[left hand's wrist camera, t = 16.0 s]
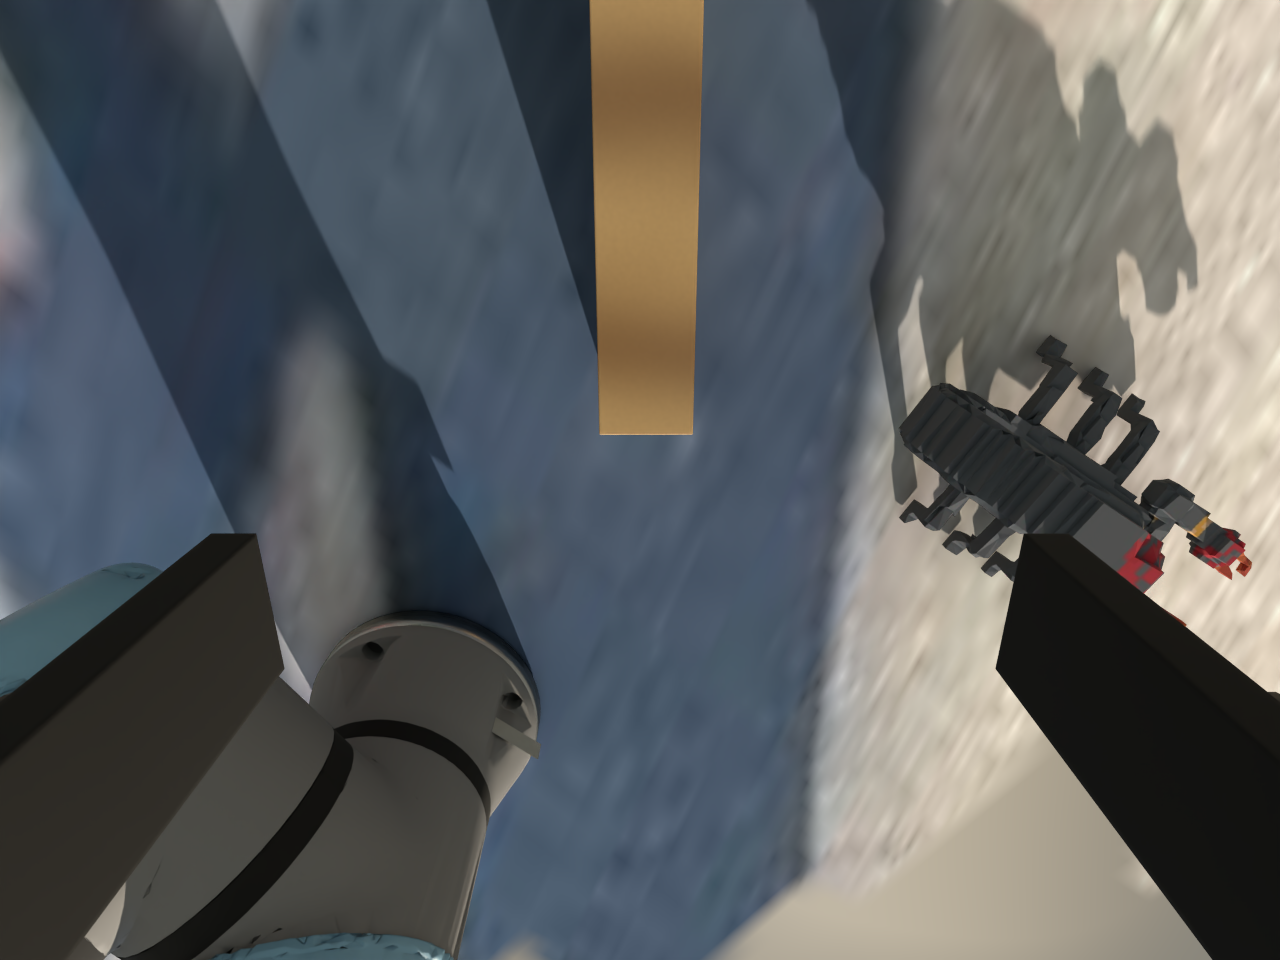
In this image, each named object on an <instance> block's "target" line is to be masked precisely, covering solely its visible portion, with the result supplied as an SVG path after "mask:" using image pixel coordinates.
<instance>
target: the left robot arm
mask: <svg viewBox="0 0 1280 960" xmlns="http://www.w3.org/2000/svg"><path fill="white" fill-rule="evenodd" d="M283 670H284V664H283V660H282V655H281V650H280V645H279V640H278V636H277V631H276V626H275V621H274V617H273V612H272V607H271V602H270V598H269V593H268V588H267V583H266V578H265V574H264V569H263V564H262V559H261V555H260V550H259V545H258V540H257V535H256V534H210V535H209V536H208V537H206V538H205V539H204V540H203V541H201V542H200V543H199V544H198V545H196V546H195V547H194V548H193V549H191V550H190V551H189V552H188V553H186V554H185V555H184V556H183V557H181V558H180V559H179V560H178V561H176V562H175V563H174V564H173V565H171V566H170V567H169V568H167V569H166V570H165V571H164V572H163V571H161V570H159V569H157V568H155V567H153V566H150V565H146V564H141V563H121V564H116V565H112V566H108V567H105V568H102V569H100V570H97V571H95V572H93V573H91V574H88V575H86V576H84V577H82V578H80V579H78V580H76V581H74V582H72V583H70V584H68V585H66V586H64V587H62V588H60V589H58V590H56V591H54V592H52V593H50V594H48V595H46V596H44V597H42V598H41V599H39V600H37V601H35V602H33V603H31V604H29V605H27V606H25V607H24V608H22V609H20V610H18V611H16V612H14V613H12V614H11V615H9V616H7V617H5V618H3V619H2V620H0V960H104V958H105V957H106V956H107V955H108V954H110V953H112V954H113V955H115V956H116V957H118V958H120V959H121V960H457V958H458V954H459V949H460V945H461V941H462V936H463V932H464V927H465V923H466V919H467V914H468V910H469V905H470V901H471V896H472V892H473V888H474V883H475V879H476V874H477V870H478V866H479V861H480V857H481V852H482V848H483V843H484V839H485V834H486V830H487V826H488V822H489V818H490V816H491V814H492V813H493V812H494V810H495V809H496V807H497V806H498V805H499V803H500V802H501V800H502V799H503V798H504V796H505V795H506V793H507V792H508V791H509V789H510V788H511V786H512V785H513V784H514V782H515V781H516V779H517V778H518V777H519V775H520V774H521V772H522V771H523V769H524V768H525V766H526V764H527V762H528V761H529V759H530V757H531V756H533V757H535V758H536V759H538V757H539V751H540V746H541V744H539V743H538V742H536V738H537V733H538V728H539V722H540V710H541V708H540V698H539V694H538V690H537V687H536V683H535V681H534V679H533V677H532V674H531V672H530V671H529V669H528V667H527V666H526V664H525V663H524V661H523V660H522V659H521V657H520V656H519V655H518V654H517V653H516V652H515V651H514V650H513V649H512V648H511V647H510V646H509V645H508V644H507V643H506V642H505V641H504V640H502V639H501V638H500V637H498V636H497V635H495V634H494V633H492V632H491V631H489V630H488V629H486V628H484V627H482V626H480V625H478V624H476V623H474V622H471V621H469V620H466V619H463V618H460V617H457V616H453V615H449V614H445V613H438V612H430V611H407V612H398V613H393V614H388V615H385V616H381V617H378V618H376V619H373V620H371V621H368V622H366V623H364V624H362V625H361V626H359V627H357V628H356V629H354V630H353V631H351V632H350V633H349V634H348V635H347V636H345V637H344V638H343V639H342V640H341V641H340V642H339V643H338V644H337V646H336V647H335V648H334V650H333V651H332V652H331V654H330V655H329V657H328V658H327V660H326V661H325V663H324V664H323V666H322V667H321V669H320V671H319V673H318V674H317V677H316V679H315V682H314V685H313V689H312V693H311V697H310V702H309V704H308V703H307V702H306V701H305V700H304V699H303V698H302V697H300V696H299V695H298V694H297V693H296V692H295V691H294V690H293V689H292V688H291V687H290V686H289V685H288V684H287V683H286V682H284V681H283V680H282V679H281V678H280V677H279V675H280V674H281V673H282V671H283ZM996 670H997V671H998V673H999V674H1000V675H1001V677H1002V678H1003V679H1004V681H1005V682H1006V683H1007V685H1008V686H1009V687H1010V689H1011V690H1012V691H1013V693H1014V694H1015V695H1016V697H1017V698H1018V699H1019V701H1020V702H1021V704H1022V705H1023V706H1024V708H1025V709H1026V710H1027V712H1028V713H1029V714H1030V716H1031V717H1032V718H1033V720H1034V721H1035V722H1036V724H1037V725H1038V726H1039V728H1040V729H1041V730H1042V732H1043V733H1044V734H1045V736H1046V737H1047V738H1048V740H1049V741H1050V742H1051V744H1052V745H1053V746H1054V748H1055V749H1056V750H1057V752H1058V753H1059V754H1060V756H1061V757H1062V758H1063V760H1064V761H1065V763H1066V764H1067V765H1068V767H1069V768H1070V769H1071V771H1072V772H1073V773H1074V775H1075V776H1076V777H1077V779H1078V780H1079V781H1080V783H1081V784H1082V785H1083V787H1084V788H1085V789H1086V791H1087V792H1088V793H1089V795H1090V796H1091V797H1092V799H1093V800H1094V801H1095V803H1096V804H1097V805H1098V807H1099V808H1100V809H1101V811H1102V812H1103V814H1104V815H1105V816H1106V818H1107V819H1108V820H1109V822H1110V823H1111V824H1112V826H1113V827H1114V828H1115V830H1116V831H1117V832H1118V834H1119V835H1120V836H1121V838H1122V839H1123V840H1124V842H1125V843H1126V844H1127V846H1128V847H1129V848H1130V850H1131V851H1132V852H1133V854H1134V855H1135V856H1136V858H1137V859H1138V860H1139V862H1140V863H1141V865H1142V866H1143V867H1144V869H1145V870H1146V871H1147V873H1148V874H1149V875H1150V877H1151V878H1152V879H1153V881H1154V882H1155V883H1156V885H1157V886H1158V887H1159V889H1160V890H1161V891H1162V893H1163V894H1164V895H1165V897H1166V898H1167V899H1168V901H1169V902H1170V903H1171V905H1172V906H1173V907H1174V909H1175V910H1176V911H1177V913H1178V914H1179V915H1180V917H1181V918H1182V920H1183V921H1184V922H1185V923H1186V925H1187V926H1188V928H1189V929H1190V930H1191V932H1192V933H1193V934H1194V936H1195V937H1196V938H1197V940H1198V941H1199V942H1200V944H1201V945H1202V946H1203V948H1204V949H1205V950H1206V952H1207V953H1208V954H1209V956H1210V957H1211V958H1212V960H1280V694H1279V693H1277V692H1267V691H1265V690H1264V689H1263V688H1262V687H1260V686H1259V685H1258V684H1257V683H1255V682H1254V681H1253V680H1252V679H1250V678H1249V677H1248V676H1247V675H1245V674H1244V673H1243V672H1242V671H1240V670H1239V669H1238V668H1237V667H1235V666H1234V665H1233V664H1232V663H1230V662H1229V661H1228V660H1227V659H1225V658H1224V657H1223V656H1222V655H1220V654H1219V653H1218V652H1217V651H1215V650H1214V649H1213V648H1212V647H1210V646H1209V645H1208V644H1207V643H1205V642H1204V641H1203V640H1202V639H1200V638H1199V637H1198V636H1197V635H1195V634H1194V633H1193V632H1192V631H1190V630H1189V629H1188V628H1186V627H1185V626H1184V625H1183V624H1181V623H1180V622H1179V621H1178V620H1176V619H1175V618H1174V617H1173V616H1171V615H1170V614H1169V613H1168V612H1166V611H1165V610H1164V609H1163V608H1161V607H1160V606H1159V605H1158V604H1156V603H1155V602H1154V601H1153V600H1151V599H1150V598H1149V597H1148V596H1146V595H1145V594H1144V593H1143V592H1141V591H1140V590H1139V589H1138V588H1136V587H1135V586H1134V585H1133V584H1131V583H1130V582H1129V581H1128V580H1126V579H1125V578H1124V577H1123V576H1121V575H1120V574H1119V573H1118V572H1116V571H1115V570H1114V569H1113V568H1111V567H1110V566H1109V565H1107V564H1106V563H1105V562H1104V561H1102V560H1101V559H1100V558H1099V557H1097V556H1096V555H1095V554H1094V553H1092V552H1091V551H1090V550H1089V549H1087V548H1086V547H1085V546H1084V545H1082V544H1081V543H1080V542H1079V541H1077V540H1076V539H1075V538H1074V537H1072V536H1071V535H1070V534H1024V535H1023V540H1022V545H1021V550H1020V555H1019V559H1018V564H1017V569H1016V574H1015V578H1014V583H1013V588H1012V593H1011V597H1010V602H1009V607H1008V612H1007V617H1006V621H1005V626H1004V631H1003V636H1002V640H1001V645H1000V650H999V655H998V659H997V664H996Z"/></svg>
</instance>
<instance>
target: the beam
mask: <svg viewBox="0 0 1280 960" xmlns="http://www.w3.org/2000/svg"><path fill="white" fill-rule="evenodd" d="M589 4H590V48H591V91H592V134H593V178H594V221H595V264H596V308H597V351H598V394H599V434H601V435H635V434H693V401H694V362H695V323H696V284H697V245H698V206H699V167H700V128H701V89H702V50H703V11H704V0H589Z"/></svg>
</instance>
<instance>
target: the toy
mask: <svg viewBox="0 0 1280 960" xmlns="http://www.w3.org/2000/svg"><path fill="white" fill-rule="evenodd" d="M1066 347H1067V345H1066V344H1064V343H1062V342H1061V341H1059V340H1057V339H1055V338H1054V337H1053V336H1051V335H1050V336H1049V337H1048V338H1047V340H1046V341H1045V342H1044V343H1043V344H1042V346H1041V347H1040V348H1039V349H1038V350H1037V352H1036V353H1038V354H1039V355H1041V356H1042V357H1043V359H1042V363H1045V364H1047V365H1050V366H1051V367H1052V369H1051V370H1050V371H1049V373H1048V374H1047V375H1046V377H1045V378H1044V379H1043V381H1042V382H1041V383H1040V386H1039V388H1038V389H1037V390H1036V392H1035V393H1034V394H1033V395H1032V396H1031V398H1030V399H1029V400H1028V401H1027V402H1026V404H1025V405H1024V406H1023V407H1022V408H1021V410H1020V411H1019V414H1018V415H1016V414H1015V413H1013V412H1011V411H1010V410H1006V409H1002V408H998V407H994V406H993V405H991V404H990V403H988V402H987V401H985V400H984V399H982V398H981V397H979V396H978V395H976V394H974V393H971V392H967V391H964V390H959V389H957V388H956V387H954V386H953V385H951V384H946V383H940V385H938V386H932V387H931V388H930V389H929V391H928V392H927V393H926V394H925V396H924V397H923V398H922V399H921V401H920V402H919V403H918V405H917V406H916V407H915V408H914V410H913V411H912V412H911V413H910V415H909V416H908V417H907V418H906V420H905V421H904V422H903V424H902V425H901V426H900V427H899V430H900V433H901V436H902V438H903V441H904V445H905V446H906V447H907V448H908V449H909V450H910V451H911V452H913V453H914V454H915V455H916V456H917V457H919V458H920V459H921V460H922V461H924V462H925V463H926V464H928V465H929V466H931V467H932V468H933V469H935V470H936V471H937V472H938V473H939V474H940V475H941V476H942V477H943V478H944V479H945V480H946V481H947V482H948V483H950V485H949V486H948V488H947V489H946V490H945V492H944V493H943V494H942V495H940V496H939V497H938V498H937V499H936V500H935V501H934V502H933V504H932V505H931V506H930V507H929V508H926V507H925V506H923V505H922V504H921V503H919V502H918V501H916V500H913V501H912V503H911V504H910V505H909V506H908V507H907V509H906V510H905V511H904V512H903V513H902V515H901V516H900V517H899V518H900V519H901V520H902V521H903V522H904V523H906V522H910V521H913V520H916V519H919V520H920V522H921V523H922V524H923V525H924V526H925V527H926V528H928V529H930V530H933V531H936V530H940V529H941V528H942V527H943V525H944V524H945V523H946V522H947V521H948V519H949V518H950V517H951V516H952V515H954V516H956V515H957V513H958V512H959V511H960V509H961V508H962V507H963V506H964V504H965V503H966V502H967V500H968V499H969V498H971V499H972V500H974V501H975V502H977V503H978V504H980V505H981V506H982V507H983V508H985V509H986V510H987V511H988V512H989V513H990V514H992V515H993V516H995V517H996V519H995V520H994V521H993V522H992V523H991V524H990V525H989V526H988V527H987V528H986V529H985V530H984V531H983V532H982V533H981V534H980V535H979V536H978V537H975V536H974V535H973V534H972V536H969V535H967V534H965V533H963V532H960V531H956V530H954V531H953V533H952V534H951V535H950V536H949V537H948V538H947V539H946V541H945V542H944V543H943V544H942V545H943V546H944V547H945V548H946V549H947V550H949V551H951V552H952V553H954V554H955V555H957V554H959V553H960V552H961V551H963V550H964V549H965V548H967V550H968V551H969V553H971V554H972V555H973V556H975V557H983V558H989V557H990V556H991V555H992V554H993V553H994V552H995V551H996V550H997V549H998V547H999V546H1000V545H1001V544H1002V543H1003V542H1004V541H1005V540H1006V539H1007V538H1008V537H1009V536H1010V535H1012V534H1014V533H1015V532H1018V533H1019V534H1023V533H1024V534H1070V535H1071V536H1072V537H1074V538H1075V539H1076V540H1077V541H1079V542H1080V543H1081V544H1082V545H1084V546H1085V547H1086V548H1087V549H1089V550H1090V551H1091V552H1092V553H1094V554H1095V555H1096V556H1097V557H1099V558H1100V559H1101V560H1102V561H1104V562H1105V563H1106V564H1107V565H1109V566H1110V567H1111V568H1113V569H1114V570H1115V571H1116V572H1118V573H1119V574H1120V575H1121V576H1123V577H1124V578H1125V579H1126V580H1128V581H1129V582H1130V583H1131V584H1133V585H1134V586H1135V587H1136V588H1138V589H1139V590H1140V591H1141V592H1143V593H1145V592H1146V591H1147V590H1148V589H1149V588H1150V587H1151V586H1152V585H1153V584H1154V583H1155V582H1156V581H1157V580H1158V579H1159V578H1160V577H1161V576H1162V575H1163V574H1164V572H1163V571H1162V570H1161V569H1162V566H1163V562H1164V559H1165V556H1164V555H1163V554H1162V553H1161V549H1162V546H1163V542H1161V541H1162V540H1163V539H1164V538H1165V536H1166V535H1167V534H1168V533H1169V531H1170V530H1171V528H1172V527H1173V525H1174V524H1177V525H1178V526H1180V527H1181V528H1183V529H1184V530H1186V531H1187V532H1188V533H1187V536H1186V538H1188V539H1189V540H1191V542H1190V543H1189V544H1190V546H1191V547H1190V550H1189V552H1190V553H1191V554H1193V555H1194V556H1196V557H1197V558H1199V559H1200V560H1202V561H1203V562H1205V563H1206V564H1208V565H1209V566H1211V567H1212V568H1215V569H1216V570H1217V571H1218V572H1219V573H1221V574H1223V575H1224V576H1226V577H1228V578H1229V579H1231V580H1232V572H1231V570H1230V568H1229V566H1230V565H1231V564H1232V563H1233V562H1234V561H1235V560H1236V559H1238V560H1239V561H1240V562H1241V563H1240V564H1239V566H1238V567H1237V569H1236V570H1237V571H1238V572H1239V573H1240V574H1242V575H1243V576H1244V577H1245V576H1246V575H1247V573H1248V572H1249V570H1250V569H1251V565H1252V562H1251V561H1250V560H1249V559H1248V558H1247V557H1246V556H1245V555H1244V553H1243V552H1244V551H1245V549H1244V547H1245V543H1244V542H1242V541H1241V540H1239V539H1238V538H1239V536H1240V535H1241V534H1239V533H1238V532H1237V531H1235V530H1231V529H1226V528H1221V527H1220V526H1219V525H1217V524H1216V523H1214V522H1213V521H1211V520H1210V519H1208V517H1209V515H1210V514H1211V513H1209V512H1208V511H1206V510H1205V509H1203V508H1201V507H1200V506H1198V505H1197V504H1195V503H1194V502H1193V500H1194V497H1195V495H1194V494H1192V493H1191V492H1190V491H1188V490H1187V489H1185V488H1184V487H1182V486H1181V485H1179V484H1178V483H1176V482H1174V481H1172V480H1170V479H1164V480H1153V481H1152V482H1151V483H1150V484H1149V485H1148V487H1147V488H1146V489H1145V490H1144V492H1143V493H1142V496H1141V503H1140V504H1139V505H1138V504H1137V503H1135V502H1134V500H1135V499H1136V498H1137V497H1136V496H1135V495H1134V494H1132V493H1131V492H1129V491H1128V490H1126V489H1125V488H1123V487H1122V486H1121V484H1122V483H1123V482H1124V481H1125V479H1126V478H1127V477H1128V476H1129V474H1130V473H1131V472H1132V471H1133V470H1134V468H1135V467H1136V466H1137V465H1138V463H1139V462H1140V461H1141V459H1142V458H1143V457H1144V455H1145V454H1146V453H1147V451H1148V450H1149V448H1150V447H1151V446H1152V444H1153V443H1154V442H1155V440H1156V438H1157V436H1158V434H1159V432H1160V431H1159V430H1158V429H1157V427H1156V425H1155V423H1154V421H1153V420H1152V419H1149V418H1147V417H1145V416H1143V415H1140V414H1138V413H1139V412H1140V411H1141V409H1142V408H1143V407H1144V404H1145V401H1144V400H1142V399H1139V398H1138V397H1136V396H1135V395H1134V394H1131V395H1130V396H1129V398H1128V399H1127V400H1126V401H1125V403H1124V404H1123V405H1122V406H1121V407H1120V409H1119V410H1118V408H1119V406H1120V403H1121V400H1122V398H1121V397H1120V396H1118V395H1117V394H1115V393H1114V392H1112V391H1109V390H1107V389H1105V388H1102V386H1103V384H1104V383H1105V381H1106V379H1107V377H1108V374H1106V373H1105V372H1103V371H1101V370H1100V369H1098V368H1096V367H1095V368H1094V369H1093V371H1092V372H1091V373H1090V374H1089V375H1088V376H1087V378H1086V379H1085V380H1084V381H1083V382H1082V383H1081V385H1080V386H1079V387H1078V389H1079V390H1081V391H1082V392H1084V393H1085V394H1087V395H1089V396H1092V397H1093V398H1092V399H1091V401H1092V402H1094V403H1093V404H1091V405H1090V407H1089V408H1088V409H1087V410H1086V412H1085V413H1084V414H1083V416H1082V417H1081V418H1080V420H1079V421H1078V422H1077V424H1076V425H1075V426H1074V428H1073V429H1072V430H1071V432H1070V434H1069V436H1068V439H1067V441H1064V440H1063V439H1061V438H1060V437H1059V436H1057V435H1056V434H1054V433H1053V432H1051V431H1050V430H1048V429H1047V428H1046V427H1044V426H1043V425H1041V424H1040V422H1041V421H1042V419H1043V418H1044V417H1045V416H1046V414H1047V413H1048V412H1049V411H1050V409H1051V408H1052V407H1053V405H1054V404H1055V403H1056V402H1057V400H1058V399H1059V398H1060V397H1061V395H1062V394H1063V393H1064V392H1065V390H1066V389H1067V388H1068V386H1069V385H1070V383H1071V382H1072V381H1073V379H1074V378H1075V377H1076V375H1077V374H1078V373H1077V372H1075V371H1074V370H1073V369H1071V368H1070V366H1071V365H1072V364H1073V363H1071V362H1069V361H1067V360H1065V359H1063V358H1061V355H1062V354H1063V352H1064V351H1065V349H1066ZM1117 411H1118V413H1117ZM1116 414H1117V416H1119V417H1120V418H1122V419H1124V420H1125V421H1127V422H1129V423H1130V424H1131V431H1130V432H1129V434H1128V435H1127V436H1126V437H1125V439H1124V440H1123V441H1122V443H1121V444H1120V445H1119V447H1118V448H1117V449H1116V450H1115V451H1114V452H1113V454H1112V455H1111V456H1110V457H1109V458H1108V460H1107V461H1106V463H1105V464H1103V465H1099V464H1098V463H1096V462H1095V461H1093V460H1092V459H1090V458H1089V457H1087V456H1086V455H1085V454H1086V453H1087V452H1088V451H1089V450H1090V449H1091V448H1092V447H1093V446H1094V445H1095V444H1096V443H1097V442H1098V441H1099V440H1100V439H1101V437H1102V434H1103V432H1104V429H1105V427H1106V426H1107V425H1108V424H1109V423H1110V421H1111V420H1112V419H1113V418H1114V417H1115V416H1116ZM1018 559H1019V558H1018ZM1018 559H1017V560H1016V561H1015V562H1012V561H1010V560H1009V559H1007V558H1006V557H1005V556H1003V555H1002V554H1000V553H999V552H997V551H996V552H995V553H994V554H993V555H992V556H991V557H990V558H989V560H988V561H987V562H986V563H985V564H984V565H983V566H982V567H981V569H982V570H983V571H984V572H985V573H986V574H988V575H989V576H991V577H992V576H993V575H995V574H996V573H997V572H998V571H1000V570H1002V571H1003V572H1004V573H1005V574H1006V575H1007V577H1008V578H1009V579H1010V580H1011V581H1013V582H1014V578H1015V574H1016V569H1017V564H1018ZM1161 608H1162V607H1161ZM1164 610H1165V609H1164ZM1165 611H1166V610H1165ZM1166 612H1168V611H1166ZM1168 613H1169V612H1168ZM1169 614H1170V615H1171V616H1173V617H1174V618H1175V619H1176V620H1178V621H1179V622H1180V623H1181V624H1183V625H1184V626H1186V624H1185V623H1184V622H1183V621H1181V620H1180V619H1178V618H1177V617H1175V616H1174V615H1172V614H1171V613H1169Z"/></svg>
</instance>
